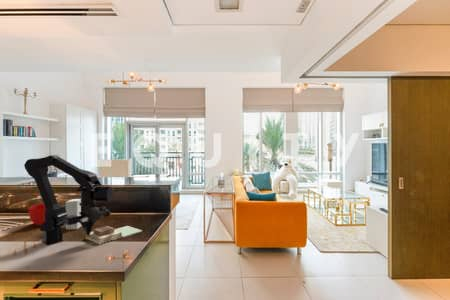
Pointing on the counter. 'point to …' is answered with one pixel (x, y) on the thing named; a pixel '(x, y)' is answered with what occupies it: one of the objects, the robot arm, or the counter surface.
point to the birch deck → (104, 237)
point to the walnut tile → (103, 230)
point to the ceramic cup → (37, 214)
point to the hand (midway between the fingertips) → (87, 235)
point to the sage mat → (128, 231)
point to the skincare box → (73, 211)
